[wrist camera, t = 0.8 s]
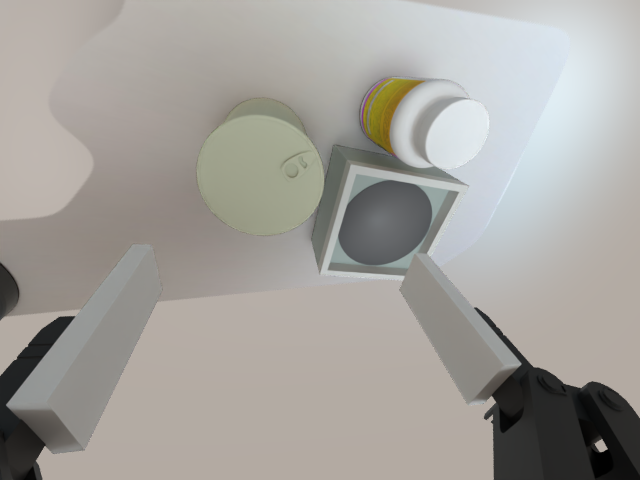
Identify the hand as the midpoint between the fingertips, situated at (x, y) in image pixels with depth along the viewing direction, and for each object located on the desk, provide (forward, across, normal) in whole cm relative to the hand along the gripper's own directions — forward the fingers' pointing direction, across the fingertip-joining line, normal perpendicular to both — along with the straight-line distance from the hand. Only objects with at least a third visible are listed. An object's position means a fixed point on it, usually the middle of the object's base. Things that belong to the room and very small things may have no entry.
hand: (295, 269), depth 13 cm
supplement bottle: (+20, +11, +7) cm, 24 cm away
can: (+20, -2, +2) cm, 20 cm away
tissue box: (+19, +12, -4) cm, 23 cm away
